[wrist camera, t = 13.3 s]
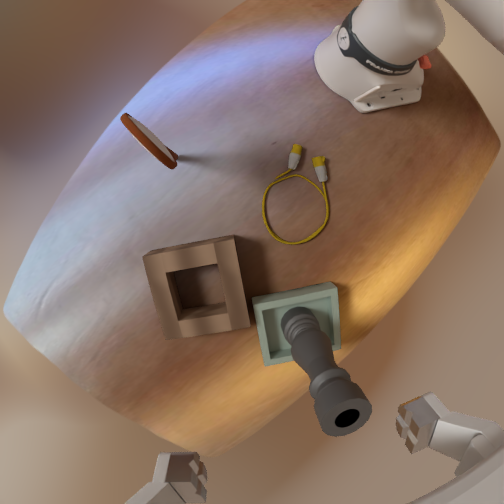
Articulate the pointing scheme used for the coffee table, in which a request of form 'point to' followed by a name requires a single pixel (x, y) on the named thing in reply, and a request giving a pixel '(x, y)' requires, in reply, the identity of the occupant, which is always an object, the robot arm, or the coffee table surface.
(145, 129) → the magnifying glass
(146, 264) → the socket block
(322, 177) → the extension cord
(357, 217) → the coffee table surface
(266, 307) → the parts tray
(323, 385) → the candle holder
